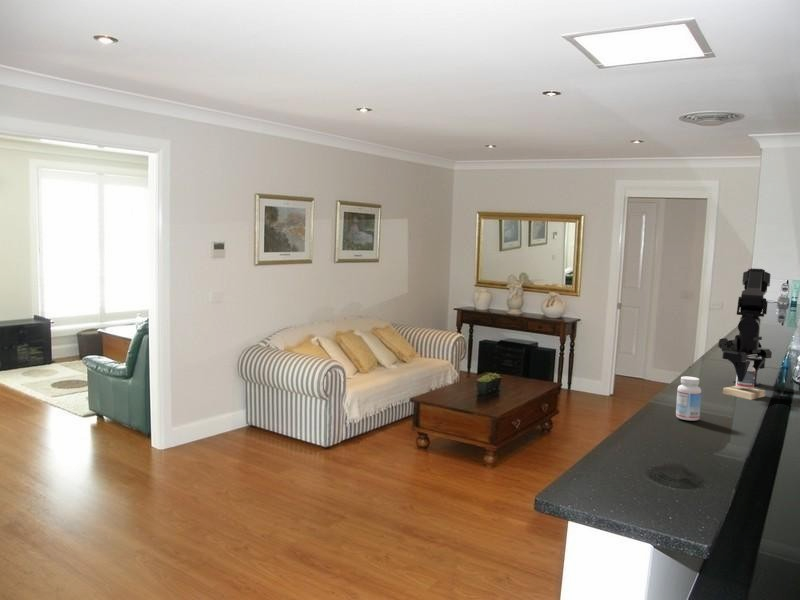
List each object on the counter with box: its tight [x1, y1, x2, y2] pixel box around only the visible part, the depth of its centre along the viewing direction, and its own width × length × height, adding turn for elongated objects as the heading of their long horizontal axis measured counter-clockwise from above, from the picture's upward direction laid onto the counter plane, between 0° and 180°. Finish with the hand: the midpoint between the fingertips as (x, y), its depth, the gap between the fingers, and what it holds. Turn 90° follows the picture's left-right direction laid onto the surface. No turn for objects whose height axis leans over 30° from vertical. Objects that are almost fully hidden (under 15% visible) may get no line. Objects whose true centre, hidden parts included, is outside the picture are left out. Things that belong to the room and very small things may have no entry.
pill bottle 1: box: [675, 375, 702, 422], centre depth 175 cm, size 6×6×11 cm
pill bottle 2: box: [735, 360, 755, 389], centre depth 206 cm, size 5×5×9 cm
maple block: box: [722, 385, 766, 401], centre depth 206 cm, size 9×9×2 cm
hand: (745, 380), depth 206 cm, fingers closed on pill bottle 2, 5 cm apart
